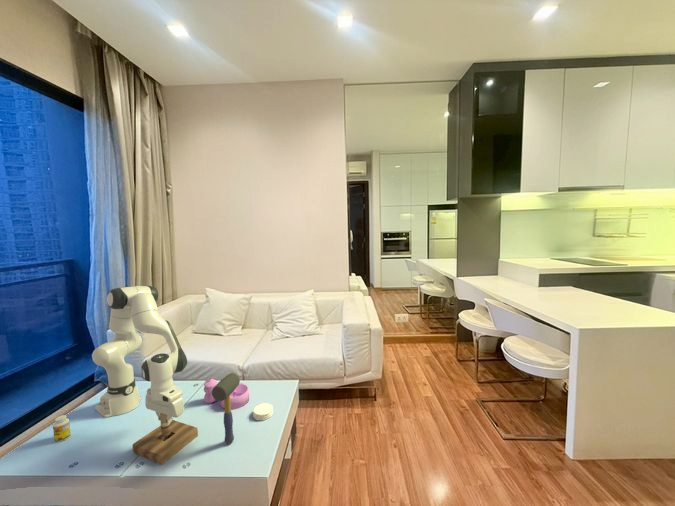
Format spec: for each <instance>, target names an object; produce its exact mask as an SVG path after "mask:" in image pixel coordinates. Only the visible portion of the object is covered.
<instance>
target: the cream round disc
mask: <svg viewBox="0 0 675 506" xmlns="http://www.w3.org/2000/svg"><path fill="white" fill-rule="evenodd" d="M252 415H253V416H252V417H253V419H254V420H256V421H259V422H261V421H266V420H268V419H270V418H271V417H272V416H273V415H274V407H273V405H272V404H271V403H267V402H264V403H260V404H257V405H256V406H254V408H253V410H252Z"/></svg>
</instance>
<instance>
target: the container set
mask: <svg viewBox="0 0 675 506" xmlns="http://www.w3.org/2000/svg"><path fill="white" fill-rule="evenodd" d="M217 384H218V381H217V380H216V379H214V378H213V377H208V379H207V380H206V381H205V382H204V383H203V386H204V387H203V392H204V393H205V394H204V396H203V397H204V398H203V399H204V400H203V401H205V403H207V404H213V402H214V403H215V402H216V401H217V400H215V399H214V398H213V396H212V390H213V388H214V387H215V386H216V385H217ZM249 401H250V388H249V385H248V384H245V383H239V385H238V386H237V388H236V389H235V390H234V391H233V392H232V393H231V394H230V405H231V411H233V410H237V409H241V408H243V407H244V406H246V405H248V403H249ZM219 404H220V408H222V410H225V407H224V400H223V401H219Z"/></svg>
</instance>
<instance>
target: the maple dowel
mask: <svg viewBox="0 0 675 506" xmlns="http://www.w3.org/2000/svg"><path fill="white" fill-rule="evenodd" d="M167 418H168V417H167V415H166V414H162V413H160V420H159V422H160V426H161V433H162V436H163V437H165V436H168V435H170V433H171V427H170V423H166V419H167Z"/></svg>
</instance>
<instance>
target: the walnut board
mask: <svg viewBox="0 0 675 506" xmlns="http://www.w3.org/2000/svg"><path fill="white" fill-rule="evenodd" d="M170 427H171V433H170V435H168V436H165V437H163V436H162V433H161V425H159V426H158V427H156V428H155V429H153V430H151V431H150V432H149V433H147V434H145V435H144V436H143V437H141V438H140V439H138V440H136V441H135V442H133V444H132V453H133V454H135V455H137V456H139V457H141V458H145V459H147V460H148V461H149V460H150V461H151V462H154V463H156V464H159V465H164V464H165V463H166V462H168V460H169V461H170V459H171V458H173V457H174V456H175V455H176V454H177V453H179V452H180V451H181V450H182V449H184V448H185V447H186V446H188V445H189V444H190V443H191V442H192V441H193V440H195V439H196V438H197V437H198V436H199V431H198V427H196V426H193V425H190V424H187V423H184V422H181V421H178V420H175V419H172V422H170Z"/></svg>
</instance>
